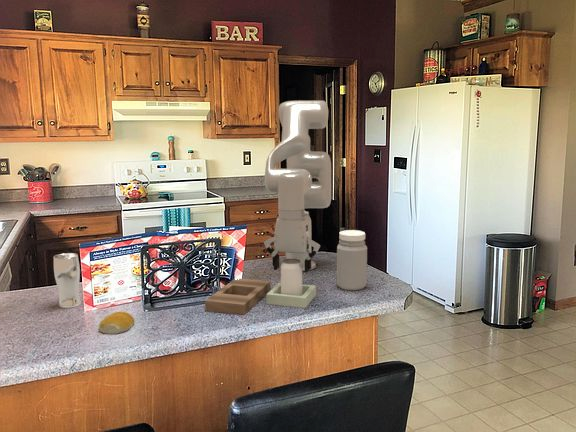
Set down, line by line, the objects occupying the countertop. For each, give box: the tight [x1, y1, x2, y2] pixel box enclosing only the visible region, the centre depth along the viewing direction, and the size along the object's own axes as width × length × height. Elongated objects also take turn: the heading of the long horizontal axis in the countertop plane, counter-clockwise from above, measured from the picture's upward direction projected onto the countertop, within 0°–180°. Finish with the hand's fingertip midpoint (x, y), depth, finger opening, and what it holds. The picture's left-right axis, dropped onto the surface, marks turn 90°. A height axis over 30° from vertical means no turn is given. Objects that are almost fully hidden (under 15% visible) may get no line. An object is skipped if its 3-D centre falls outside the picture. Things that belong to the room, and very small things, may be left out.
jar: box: [336, 229, 368, 291], centre depth 166 cm, size 10×10×18 cm
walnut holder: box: [204, 278, 272, 316], centre depth 156 cm, size 22×12×3 cm, turn 162°
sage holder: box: [265, 281, 317, 309], centre depth 156 cm, size 12×12×3 cm
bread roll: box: [98, 311, 135, 335], centre depth 136 cm, size 8×9×4 cm
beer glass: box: [52, 252, 82, 309], centre depth 152 cm, size 7×7×15 cm
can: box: [280, 258, 303, 296], centre depth 155 cm, size 6×6×12 cm
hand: (291, 269), depth 155 cm, fingers open, 9 cm apart
